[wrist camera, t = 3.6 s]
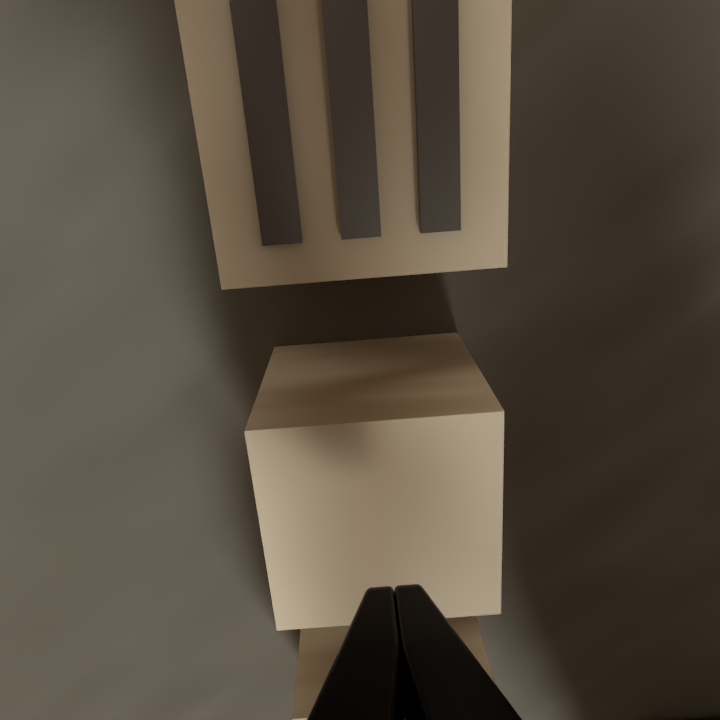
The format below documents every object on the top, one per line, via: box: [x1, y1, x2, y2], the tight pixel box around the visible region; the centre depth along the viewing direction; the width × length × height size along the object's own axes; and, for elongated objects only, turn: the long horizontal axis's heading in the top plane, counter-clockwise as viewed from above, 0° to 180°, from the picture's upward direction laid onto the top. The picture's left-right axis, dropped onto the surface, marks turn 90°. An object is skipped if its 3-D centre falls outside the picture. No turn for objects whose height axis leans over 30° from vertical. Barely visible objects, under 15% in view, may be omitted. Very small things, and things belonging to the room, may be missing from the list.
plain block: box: [244, 333, 504, 631], centre depth 13 cm, size 4×4×4 cm
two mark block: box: [292, 616, 495, 720], centre depth 15 cm, size 4×4×5 cm
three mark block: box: [174, 0, 512, 290], centre depth 10 cm, size 4×4×5 cm
